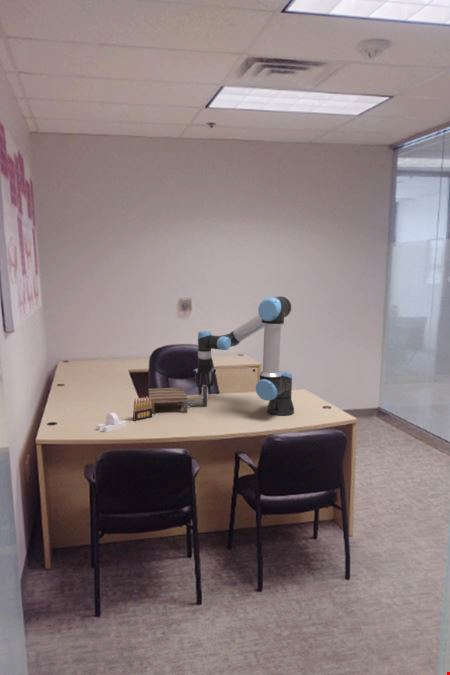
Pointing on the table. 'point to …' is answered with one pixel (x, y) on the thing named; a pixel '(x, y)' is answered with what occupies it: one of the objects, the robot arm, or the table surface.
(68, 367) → the table surface
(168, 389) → the bench
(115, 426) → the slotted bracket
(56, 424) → the table surface
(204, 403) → the hook tool
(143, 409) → the ammunition clip
